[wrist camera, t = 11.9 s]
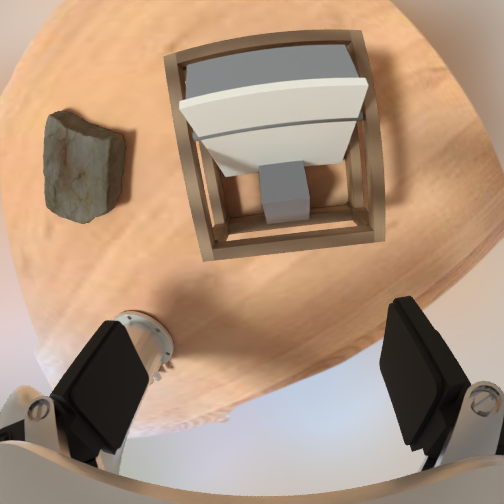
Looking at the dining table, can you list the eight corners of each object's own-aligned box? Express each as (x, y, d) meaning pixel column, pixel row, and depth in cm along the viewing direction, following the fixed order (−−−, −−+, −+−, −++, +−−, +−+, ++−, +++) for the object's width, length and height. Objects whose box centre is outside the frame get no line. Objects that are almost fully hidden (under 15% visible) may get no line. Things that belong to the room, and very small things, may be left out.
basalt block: (302, 160, 30) (309, 198, 28) (303, 184, 34) (309, 219, 33) (258, 165, 30) (261, 203, 29) (264, 189, 35) (267, 224, 33)
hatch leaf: (337, 129, 31) (345, 163, 31) (219, 143, 33) (221, 178, 33) (356, 44, 17) (375, 86, 16) (175, 68, 19) (172, 111, 18)
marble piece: (60, 111, 32) (43, 111, 28) (134, 112, 32) (119, 111, 28) (54, 207, 39) (39, 215, 35) (121, 223, 39) (107, 233, 35)
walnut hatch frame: (357, 212, 35) (385, 241, 26) (221, 228, 38) (203, 261, 28) (338, 57, 27) (361, 30, 18) (193, 76, 30) (163, 56, 20)
